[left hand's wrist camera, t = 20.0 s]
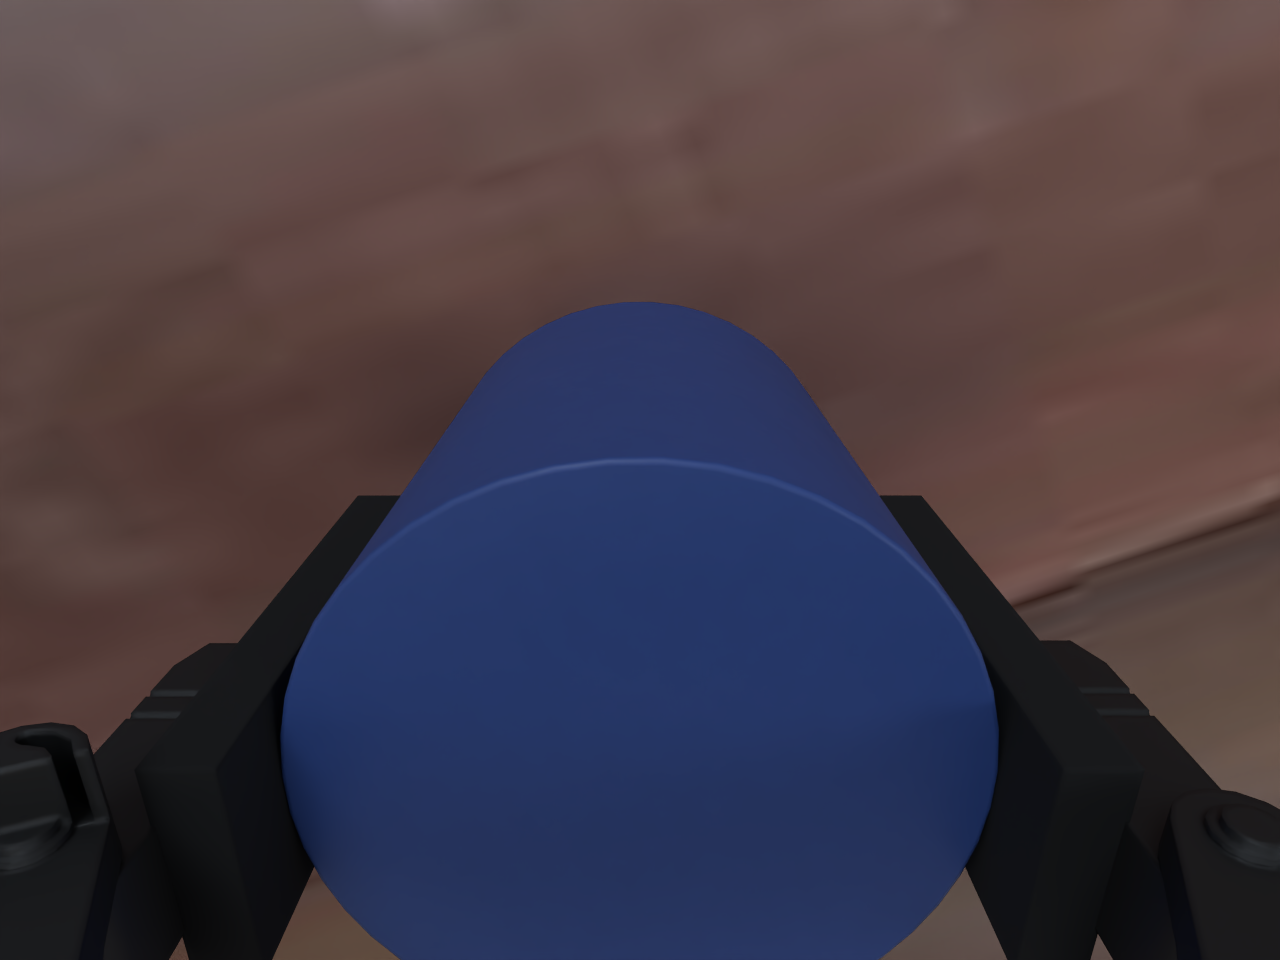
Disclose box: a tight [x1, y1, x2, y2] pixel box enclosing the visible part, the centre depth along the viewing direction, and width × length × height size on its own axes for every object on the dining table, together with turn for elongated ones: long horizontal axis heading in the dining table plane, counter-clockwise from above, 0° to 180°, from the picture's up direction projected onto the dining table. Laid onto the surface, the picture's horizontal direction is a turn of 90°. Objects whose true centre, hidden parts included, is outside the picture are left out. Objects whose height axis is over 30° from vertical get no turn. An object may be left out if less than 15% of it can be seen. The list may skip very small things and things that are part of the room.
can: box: [280, 302, 999, 960], centre depth 13 cm, size 8×8×8 cm
